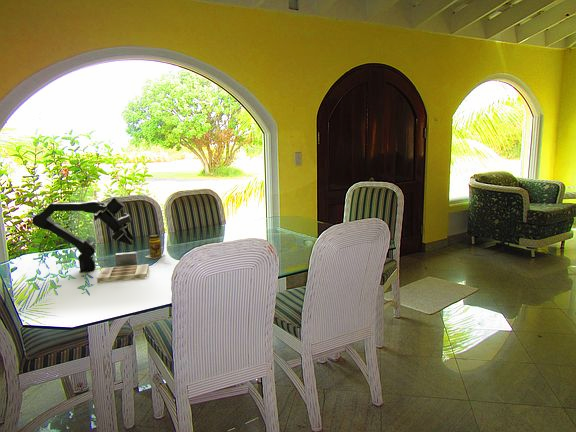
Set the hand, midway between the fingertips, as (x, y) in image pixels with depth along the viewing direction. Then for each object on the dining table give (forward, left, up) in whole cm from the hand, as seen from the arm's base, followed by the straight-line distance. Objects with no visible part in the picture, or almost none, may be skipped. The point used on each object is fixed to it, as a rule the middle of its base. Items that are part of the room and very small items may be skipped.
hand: (132, 241), depth 234 cm
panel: (-4, 0, -13) cm, 13 cm away
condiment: (+9, +14, -13) cm, 21 cm away
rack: (-4, -13, -13) cm, 19 cm away
